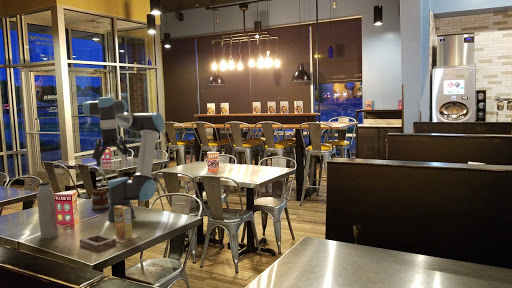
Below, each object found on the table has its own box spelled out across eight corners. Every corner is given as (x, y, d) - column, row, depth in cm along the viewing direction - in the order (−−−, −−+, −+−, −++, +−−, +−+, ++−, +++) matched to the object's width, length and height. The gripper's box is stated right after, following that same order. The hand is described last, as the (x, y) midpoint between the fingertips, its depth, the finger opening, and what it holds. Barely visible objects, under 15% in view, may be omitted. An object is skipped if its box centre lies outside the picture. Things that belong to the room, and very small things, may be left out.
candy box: (115, 236, 210) (112, 206, 208) (122, 234, 213) (120, 204, 212) (126, 239, 205) (123, 208, 203) (133, 237, 208) (130, 206, 206)
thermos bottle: (61, 233, 221) (56, 181, 218) (51, 238, 213) (45, 184, 210) (48, 233, 223) (42, 181, 220) (37, 238, 215) (31, 184, 212)
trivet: (127, 233, 217) (127, 232, 217) (140, 236, 210) (140, 235, 210) (108, 239, 208) (108, 238, 208) (121, 243, 201) (120, 242, 201)
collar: (99, 239, 209) (98, 233, 208) (116, 245, 199) (115, 238, 199) (80, 245, 201) (79, 239, 201) (97, 251, 192) (96, 245, 191)
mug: (109, 203, 281) (107, 182, 277) (112, 212, 268) (111, 190, 265) (90, 206, 275) (88, 185, 271) (93, 215, 263) (91, 192, 259)
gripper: (124, 125, 223) (128, 164, 226) (81, 130, 203) (86, 174, 206) (133, 125, 218) (137, 165, 221) (90, 131, 199) (95, 175, 202)
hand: (112, 169), depth 214 cm, fingers open, 13 cm apart
